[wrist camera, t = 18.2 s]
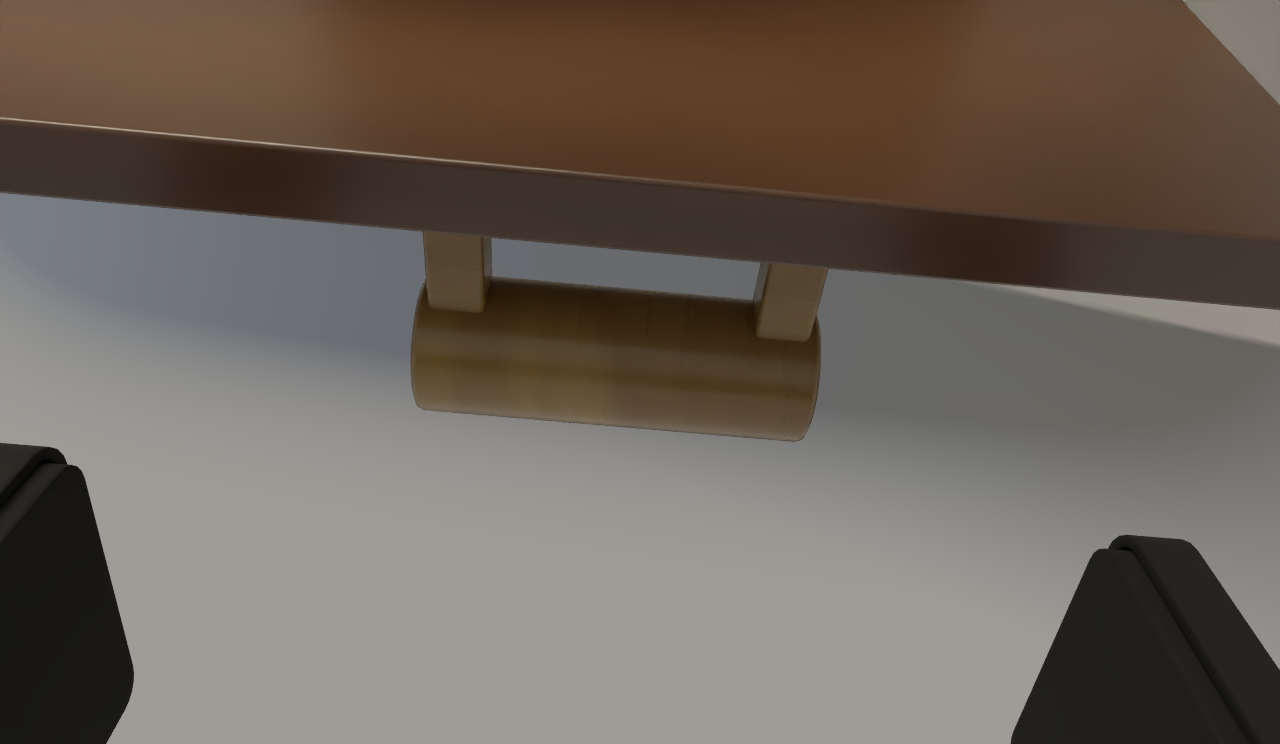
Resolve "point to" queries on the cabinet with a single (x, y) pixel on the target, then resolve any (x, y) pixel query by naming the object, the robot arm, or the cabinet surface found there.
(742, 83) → the lid
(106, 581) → the robot arm
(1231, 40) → the cabinet surface
